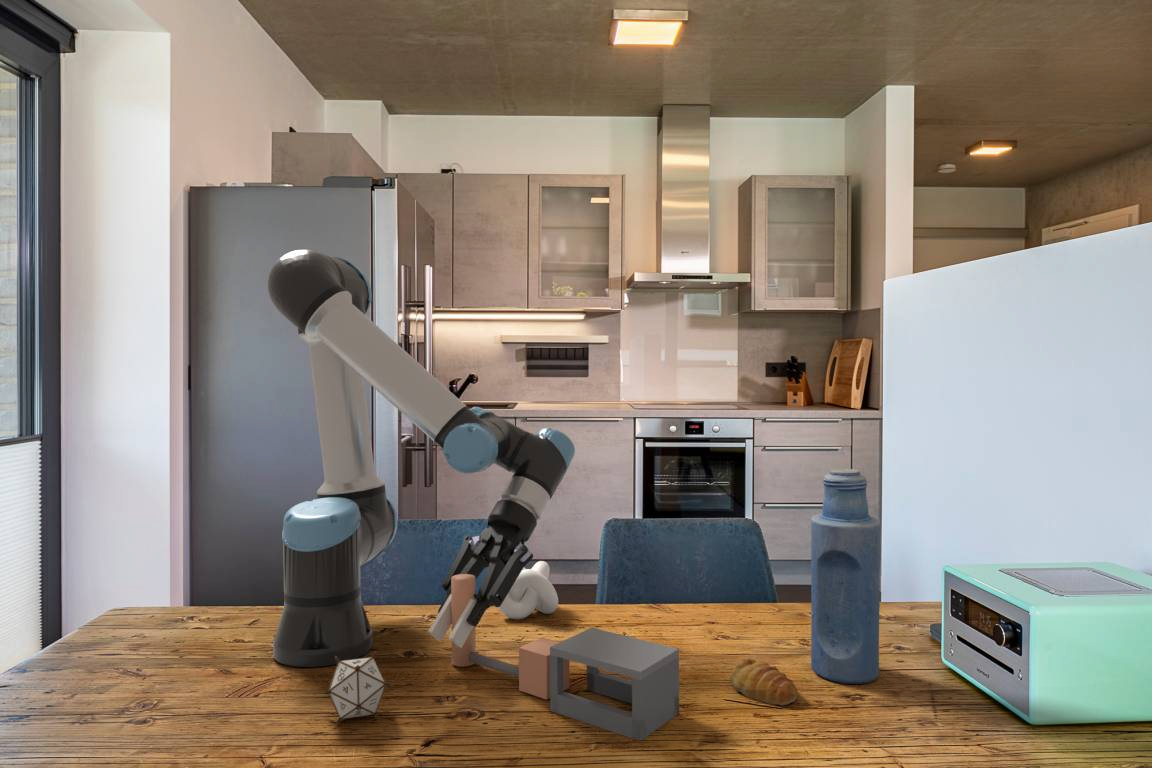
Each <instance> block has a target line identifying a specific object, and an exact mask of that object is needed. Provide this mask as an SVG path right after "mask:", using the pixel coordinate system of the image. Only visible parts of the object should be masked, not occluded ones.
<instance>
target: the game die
mask: <svg viewBox="0 0 1152 768" xmlns="http://www.w3.org/2000/svg"><path fill="white" fill-rule="evenodd" d="M377 651H378V650H375V651H374V652H373V654H371V656H367V657H358V658H355V659H349V660H341V661H340V660H339V658H338V657H337V656H335V660H336V661H337V662H338V663H337V664H336V667H335V670H334V671H333V675H332V678H331V681H330V683H329V686H328V688H325V689H323V690H322V693H323V694H324V695H329V697H330V699H331V702H332V705H333V707H334V709H335V712H336V714H337V717H338V719H337V720H336V721H335V725H336V727H337V726H339V725H340V724H341V722H342V720H344V719H345V720H346V719H353V718H360V717H366V716H374V718H375V720H378V719H379V720H380V715H379V713H377V712H378V709H379V706H380V703H381V700H382V697H383V694H384V693H385V689H386V687H390V686H391V685H392V684H393V683H392V682H391V681H390V680H388V681H387V680H385V678H384V675H383V673H382V672H381V670H380V667H379V665H378V663H377V661H376V659H375V657H376V656H377V655H378V653H377Z"/></svg>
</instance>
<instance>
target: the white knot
mask: <svg viewBox="0 0 1152 768" xmlns="http://www.w3.org/2000/svg"><path fill="white" fill-rule="evenodd" d="M549 575H550V566H549V564H548V563H547V562H546V561H544V560H539V561H537V562H536V563H535V564H534V565H533V566H532V567H531V568H525V567H524V568H523V569H522V571H521V573H520V574H519V576H518V578H517V579H516V581H515V583H514V584H513V586H512V588H511V589H510V591H509V593H508V594H507V596H506V598H505V599H504V601H503V603H502V604H501V606H500V607H497V608H498V610H499V611H500V612H501V614H503V615H504V616H505V617H507V618H509V619H512V620H523V619H525V618H527V617H529V616H530V615H531V614H532V613H533V612H534V611H535V609H536V610H537V611H539V612H541V613H543V614H546V615H547V614H553V613H554V612H555V611H556V610H557V609H558V605H559V598H558V593H557V591H556V589H555V587H554V585H553V584H552V583H551V582H550V580H549ZM496 596H498V595H496Z"/></svg>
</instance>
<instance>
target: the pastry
mask: <svg viewBox="0 0 1152 768" xmlns="http://www.w3.org/2000/svg"><path fill="white" fill-rule="evenodd" d="M729 680H730V683H731V685H732V687H733V688H734V690H735V691H736V692H737V693H739V692H740V693H741V694H743V696H744V697H747V698H750V699H754V700H756V701H759V702H762V703H765V704H769V705H780V706H786V705H789V704H791V703H794V702H795V701H796V700H797V697H798V695H799V690H798V688H797V687H796V685H795V684H794V682H793V680H792V679H790V678H788V676H787V674H786V673H784V672H783V673H782V672H781V671H780V670H779V669H778V668H777V667H776V666H772V665H770V664H769V663H767V662H764V661H761V662H757V660H755V659H754V658H753V659H752V658H743V659H741V660H740V661H739V662H738V663H737V664H736V665H735V666H734V668H733V670H732V673H731V675H730V678H729Z"/></svg>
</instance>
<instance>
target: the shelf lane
mask: <svg viewBox="0 0 1152 768" xmlns="http://www.w3.org/2000/svg"><path fill="white" fill-rule="evenodd" d="M563 658H564V659H567V660H569V661H571V662H574V663H575V662H576V663H578V664H581V665H586V690H587V691H589V692H593V693H595V694H599V695H602V696H605V695H606V697H608V696H609V698H612V699H615V698H616V700H618V699H619V701H622V702H625V701H626V703H628V702H629V703H628V704H631V703H632V704H631V712H629V711H627V710H624V709H620V708H617V707H614V706H611V705H608V704H605V703H602V702H598V701H595V700H591V699H588V698H585V697H583V696H579V695H575V694H572V693H570V692H568V691H563ZM599 669H600V670H603V671H608V672H610V673H613V674H618V675H621V676H624V677H629V678H631V680H630V679H626V678H624V677H623V678H622V677H619V676H616V675H613V674H609V673H606V672H601V671H600V670H599ZM549 699H550V700H549V702H550V705H549V707H550V709H549V710H550V712H553V713H555V714H558V715H561V716H565V717H568V718H570V719H574V720H577V721H579V722H582V723H585V724H588V725H592V726H594V727H597V728H599V729H603V730H607V731H609V732H612V733H616V734H617V735H621V736H623V737H624V736H625V737H627V738H630V739H633V740H635V741H639V742H641V741H643V740H644V739H646V738H647V737H648V736H650V735H651V734H653V733H654V732H655V731H656V730H658V729H660V728H661V727H662V726H664V725H665V724H666V723H668V722H669V721H671V720H672V719H673V718H674V717H676V716H678V715H679V714H680V648H677V647H673V646H669V645H665V644H661V643H656V642H653V641H648V640H644V639H640V638H637V637H632V636H627V635H624V634H619V633H616V632H611V631H608V630H607V631H606V630H603V629H599V628H596V627H595V628H594V627H590V628H588V629H585V630H584V631H581V632H579V633H577V634H575V635H573V636H570V637H569V638H567V639H564V640H562V641H560V643H558V644H556V645H553V646H551V647H550V698H549Z"/></svg>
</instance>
